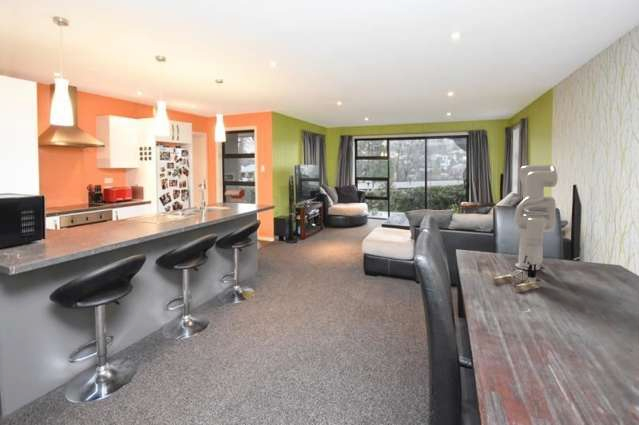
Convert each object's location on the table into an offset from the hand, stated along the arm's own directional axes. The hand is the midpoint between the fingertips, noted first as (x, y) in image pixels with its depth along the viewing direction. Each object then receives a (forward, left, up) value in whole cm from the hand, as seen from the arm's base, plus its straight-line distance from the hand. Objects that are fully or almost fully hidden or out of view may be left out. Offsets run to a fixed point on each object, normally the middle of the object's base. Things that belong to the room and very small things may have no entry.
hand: (531, 276), depth 176 cm
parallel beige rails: (+12, 0, -3) cm, 12 cm away
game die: (+10, 0, -3) cm, 10 cm away
